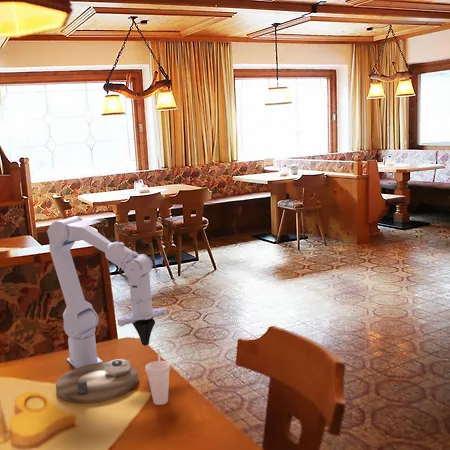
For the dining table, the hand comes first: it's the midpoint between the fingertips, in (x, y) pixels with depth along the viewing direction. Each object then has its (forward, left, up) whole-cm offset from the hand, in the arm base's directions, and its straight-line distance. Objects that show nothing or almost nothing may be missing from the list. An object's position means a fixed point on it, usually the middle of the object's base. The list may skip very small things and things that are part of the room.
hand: (145, 344), depth 168 cm
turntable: (0, -15, -8) cm, 17 cm away
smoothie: (+20, -6, -8) cm, 22 cm away
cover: (0, -9, -6) cm, 11 cm away
